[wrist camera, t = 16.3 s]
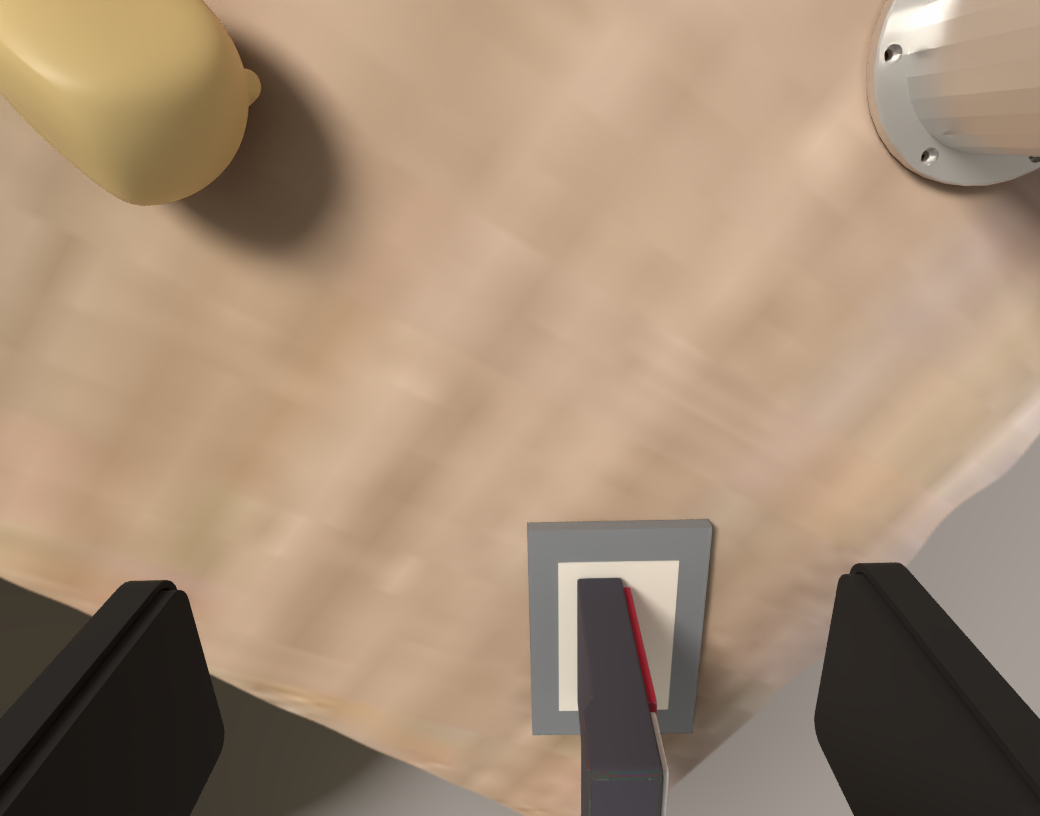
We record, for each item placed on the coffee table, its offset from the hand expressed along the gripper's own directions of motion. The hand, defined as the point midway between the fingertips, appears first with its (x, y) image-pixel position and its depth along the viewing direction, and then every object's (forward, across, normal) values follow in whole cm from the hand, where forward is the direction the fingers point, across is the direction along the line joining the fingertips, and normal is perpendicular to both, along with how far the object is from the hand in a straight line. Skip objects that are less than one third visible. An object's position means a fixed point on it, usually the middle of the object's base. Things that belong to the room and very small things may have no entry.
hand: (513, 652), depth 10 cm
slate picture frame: (+30, -6, +26) cm, 40 cm away
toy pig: (+30, +18, -10) cm, 37 cm away
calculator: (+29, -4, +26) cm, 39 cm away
